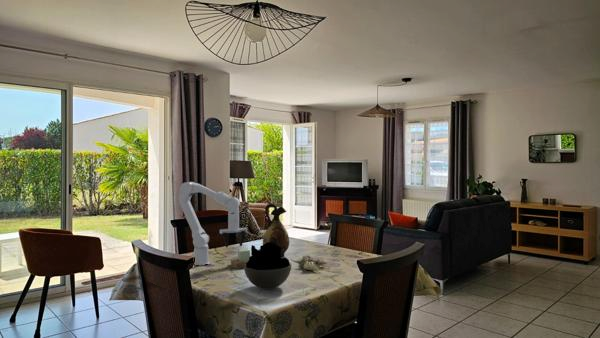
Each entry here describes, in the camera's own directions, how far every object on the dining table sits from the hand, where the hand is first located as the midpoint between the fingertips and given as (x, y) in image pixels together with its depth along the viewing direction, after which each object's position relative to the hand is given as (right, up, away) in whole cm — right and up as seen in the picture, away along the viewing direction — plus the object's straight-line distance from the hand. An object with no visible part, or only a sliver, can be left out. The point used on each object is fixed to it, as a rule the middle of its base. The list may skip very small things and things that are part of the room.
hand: (233, 246), depth 214 cm
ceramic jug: (+21, -9, +19) cm, 30 cm away
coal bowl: (+21, -10, -43) cm, 49 cm away
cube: (+6, -6, -4) cm, 9 cm away
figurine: (+41, -10, -12) cm, 44 cm away
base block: (+6, -9, -4) cm, 12 cm away
